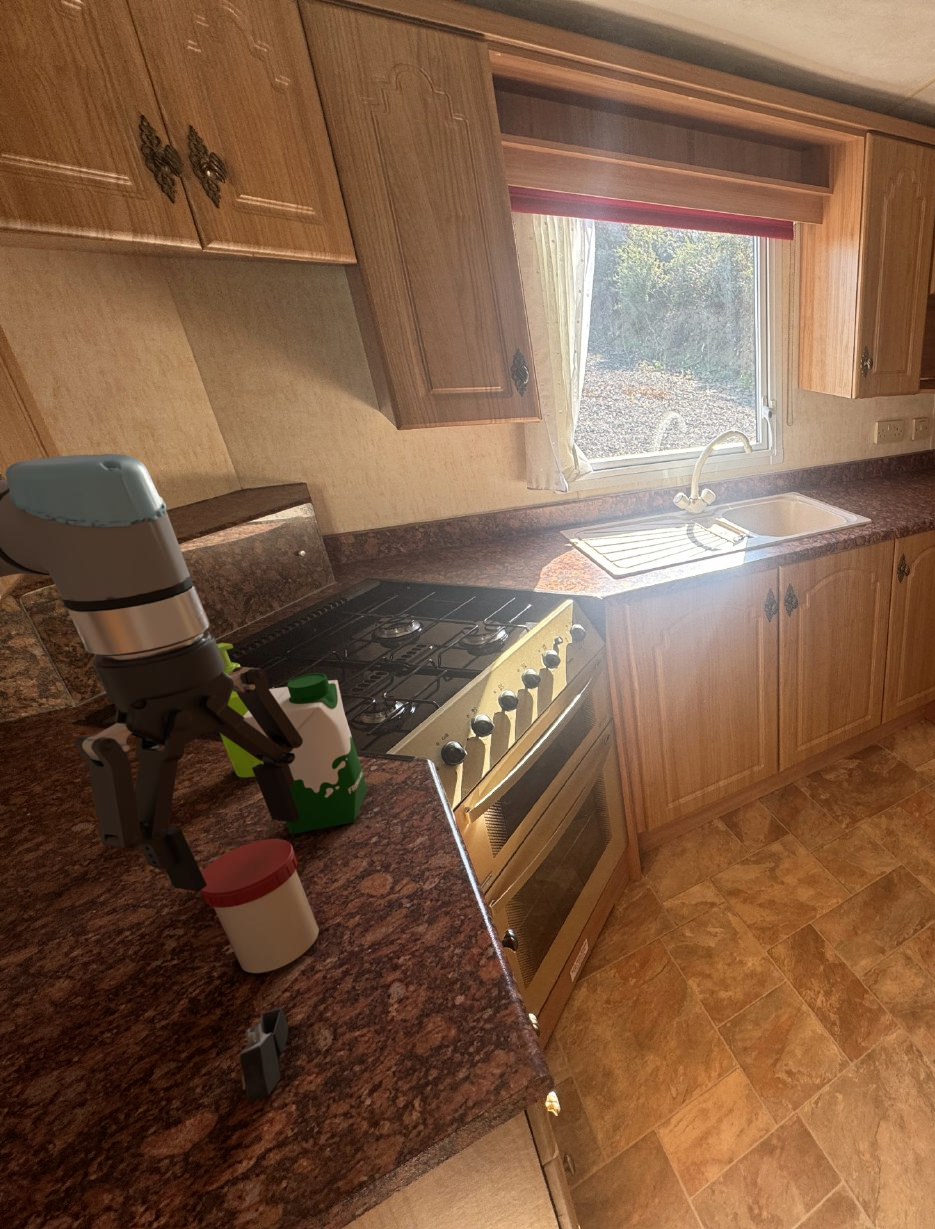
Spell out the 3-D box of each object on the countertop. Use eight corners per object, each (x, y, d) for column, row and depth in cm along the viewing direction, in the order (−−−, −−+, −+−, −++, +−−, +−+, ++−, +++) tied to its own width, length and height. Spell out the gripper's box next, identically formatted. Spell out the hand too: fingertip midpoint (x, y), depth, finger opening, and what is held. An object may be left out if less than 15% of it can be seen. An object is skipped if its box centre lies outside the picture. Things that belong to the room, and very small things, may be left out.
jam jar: (233, 948, 68) (197, 870, 64) (309, 910, 72) (280, 835, 68) (248, 985, 64) (211, 905, 60) (327, 942, 68) (297, 865, 64)
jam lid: (196, 881, 64) (190, 867, 63) (287, 842, 69) (282, 828, 69) (211, 921, 60) (204, 905, 59) (307, 876, 65) (301, 861, 64)
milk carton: (360, 825, 85) (318, 693, 78) (278, 841, 82) (225, 706, 75) (376, 786, 93) (339, 662, 85) (301, 799, 90) (256, 673, 82)
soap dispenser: (218, 778, 94) (167, 655, 87) (265, 752, 100) (222, 635, 93) (249, 784, 93) (200, 660, 85) (295, 757, 99) (254, 640, 92)
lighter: (266, 1070, 59) (256, 1012, 59) (294, 1058, 60) (284, 1001, 60) (237, 1108, 52) (225, 1043, 52) (269, 1094, 53) (258, 1030, 53)
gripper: (241, 595, 65) (307, 779, 74) (-61, 700, 45) (77, 934, 54) (304, 600, 64) (364, 787, 72) (22, 710, 44) (149, 948, 53)
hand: (241, 850), depth 63 cm, fingers open, 9 cm apart
